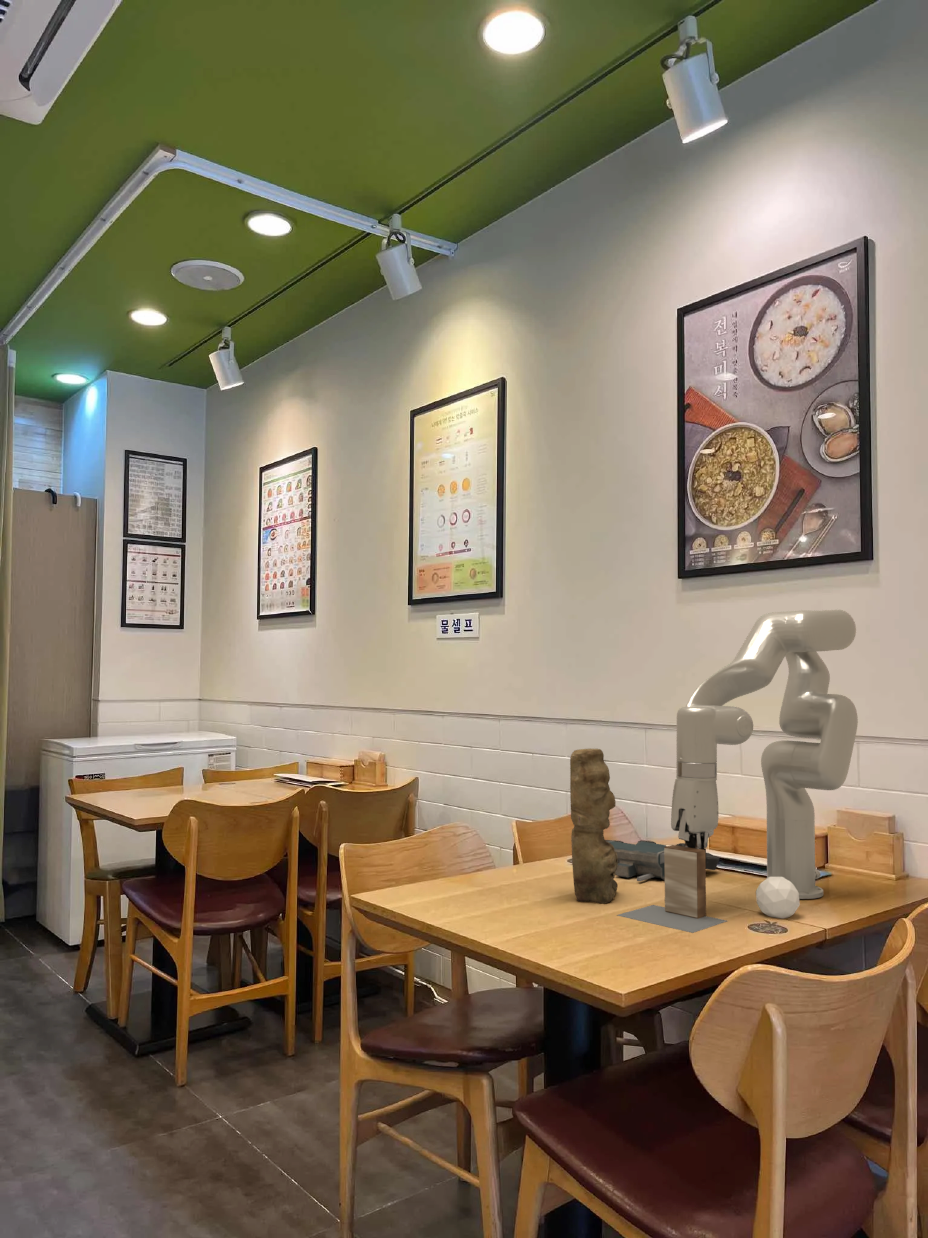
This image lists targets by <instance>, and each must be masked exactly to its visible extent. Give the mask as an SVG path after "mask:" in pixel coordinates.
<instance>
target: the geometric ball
mask: <svg viewBox="0 0 928 1238" xmlns="http://www.w3.org/2000/svg"><path fill="white" fill-rule="evenodd" d="M755 895H756V896H755V898H756V899H755V900H756V904H757V906H758V908H759V909H760V911H761V913H763V914H764V915H765V916H767V917H771V918H775V919H787V918H790V917H792V916H793V915H794V914H795V913H796V911H797V910H798V909H799V907H800V904H801V903H800V899H799V892H798V891H797V889H796V888H795V886H794V885H793V884H792V883H791V882H790V881H788V880H787V879H785V878H784V877H768V878H767V877H766V879H764V880H763V881H761V882H760V883H759V884H758V887H757V889H756V891H755Z"/></svg>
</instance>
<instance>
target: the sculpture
mask: <svg viewBox="0 0 928 1238" xmlns="http://www.w3.org/2000/svg"><path fill="white" fill-rule="evenodd" d="M604 756H605V755H604V751H603V750H602V749H600V748H580V749H575V750H573V752H572V753H571V754H570V756H569V757H570V760H569V762H570V763H569V765H570V767H569V771H570V772H569V774H570V775H569V777H570V778H569V779H570V780H569V781H570V783H569V784H570V785H569V790H570V792H569V794H570V797H569V798H570V819H571V821H572V824H573V828H572V829H571V835H570V837H571V839H570V841H571V864H572V865H571V866H572V877H573V888H574V895H575V897H576V900H577V901H578V902H583V903H584V902H592V903H593V902H594V903H598V904H604V905H605V904H607V903H608V904H609V903H611V901H612V900H613V899H614V898H615V895H616V893H617V890H618V883H617V881H616V880H615V876H616V872H615V871H616V870H617V867H618V858H617V852H615V851H614V846H613V845H612V844H611V843H609V842H607V841H605V840H606V839H605V836H604V832H605V831H604V830H607V829H608V828H609V827H610V826H611V822H610V819H609V818H610V810H612V809H614V808H615V807H616V805H617V804H616V796H615V795H614V794H615V793H613V792H612V791H611V787H610V784H609V782H610V779H611V777H610V774H611V773H610V769H609V766H608V765H607V764H606V762H605V760H604Z"/></svg>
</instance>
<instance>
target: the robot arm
mask: <svg viewBox="0 0 928 1238" xmlns="http://www.w3.org/2000/svg"><path fill="white" fill-rule="evenodd" d="M750 629H751V630H750V631H749V633H748V635H747V636H746V638H745V640H744V642H743V643H742V645H741V647H740V648H739V650H738V652H737V653H736V656H735V657H734V658H733V660H732V661H731V662H730V663H728V664H727V665H725V666H723V667H721V668H720V669H719V670H718V671H716V672H715V673H713V674H712V675H711V676H709V677H708V678H707V679H705V680H704V681H702V682H701V683H700V685H698V686H697V688H696V689H695V690H694V692H693V693H692V695H691V696H690V697H689V699H688V701H687V703H686V705H685V706H681V707H680V708H679V709H678V710H677V713H676V763H675V764H676V765H675V766H676V768H675V770H676V773H675V775H676V776H675V780H674V785H673V790H672V797H671V798H672V799H671V800H672V801H671V818H670V819H671V820H670V826H671V829H672V831H674V832H678V840H682V841H684V843H685V847H689V848H696V849H702V850H705V865H706V853H707V848H708V846H709V845H708V844H709V843H708V842H709V838H710V837H712V836H713V835H714V833H715V832H714V830H715V829H717V828H718V825H719V796H718V786H717V781H718V779H717V778H718V770H717V769H718V745H725V746H726V745H729V746H736V745H741V744H744V743H746V741H748V740H749V739H750V737H751V736H752V734H753V731H754V721H753V719H752V716H751V714H749V712H748V711H746V710H745V709H743V708H741V707H737V706H734V705H733V706H731V705H730V706H729V705H726V704H727V703H729V702H730V701H733V700H735V699H737V698H740V697H743V696H747V695H749V694H752V693H754V692H757V691H760V690H761V689H763V688H765V687H767V686H769V685H770V684H771V682H773V679H774V677H775V675H776V673H777V671H778V669H779V667H780V665H781V664H782V662H783V661H784V659H786V662H787V666H788V676H787V680H786V685H785V689H784V693H783V698H782V702H781V707H780V711H779V712H780V713H779V717H778V718H779V721H778V724H779V727H780V730H781V731H782V732H783V733H784V734H786V735H788V736H790V737H794V738H803V739H816V740H820V742H813V741H812V742H809V741H801V740H800V741H798V740H778V741H777V740H775V741H774V742H771V743H770V744H767V746H766V747H764V750H763V751H762V753H761V757H760V758H761V759H760V765H761V767H760V768H761V772H762V777H763V781H764V788H765V796H766V797H765V799H766V879H767V878H768V877H784V878H785V879H787V880H788V881H790V882H791V883H792V884H793V885H794V886H795V888H796V889H797V891H798V892H799V900H812V899H813V900H814V899H820V898H822V897H823V896H824V888H822V887H821V886H817V885H816V880H817V879H819V878H821V872H820V870H819V869H817V868H816V845H815V844H816V842H815V839H816V838H815V837H816V836H815V834H816V832H815V826H816V825H815V824H816V823H815V819H816V817H815V807H814V804H813V801H812V799H811V796H810V795H809V793H808V791H807V789H811V790H822V791H835V790H839V789H840V788H841V787H842V786H843V785H844V783H845V781H846V779H847V777H848V774H849V769H850V766H851V765H850V764H851V759H852V755H853V750H854V745H855V741H856V737H857V736H856V735H857V731H858V723H859V721H858V720H859V719H858V713H857V708H856V706H855V703H854V702H853V701H852V700H851V699H850V697H847V696H845V695H844V694H843V695H842V694H837V693H828V692H829V687H830V682H831V680H830V679H831V677H830V671H829V669H828V667H827V665H826V663H825V662H824V660H823V659H822V658H821V656H820V655H819V653H818V652H831V651H841V650H845V649H847V648H848V647H850V646H851V645H852V644H853V642H854V640H855V638H856V633H857V627H856V621H854V618H853V617H852V615H851V614H850V613H849V612H847V611H846V610H842V609H828V610H827V609H826V610H791V611H789V610H788V611H774V612H767V613H765V614H762V615H761V616H760V617H758V619H756V621H755V622H754V624H753V626H752V628H750Z"/></svg>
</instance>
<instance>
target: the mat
mask: <svg viewBox="0 0 928 1238" xmlns="http://www.w3.org/2000/svg"><path fill="white" fill-rule="evenodd" d="M616 916H617V917H621V918H627V919H629V920H635V921H638V922H642V923H643V922H644V923H647V924H652V925H656V926H661V927H666V928H669V929H675V930H678V931H683V932H687V933H691V934H694V933H697V932H700V931H703V930H705V929H708V928H711V927H715V926H718V925H721V924H724V923H726V922H728V920H727V919H726V920H725V919H722V918H716V917H712V916H707V915H706V916H704V917H701V918H698V919H697V918H693V917H688V916H684V915H679V914H674V913H670V912H665V906H662V905H656V904H652V905H649V906H644V907H641V908H636V909H633V910H630V911H627V912H623V913H620V914H619V913H618V914H616Z"/></svg>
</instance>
